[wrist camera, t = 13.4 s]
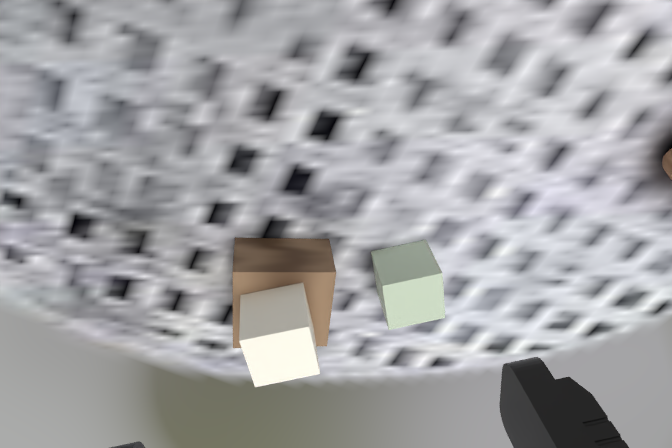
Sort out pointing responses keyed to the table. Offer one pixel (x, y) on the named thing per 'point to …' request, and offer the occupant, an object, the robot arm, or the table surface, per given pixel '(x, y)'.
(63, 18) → the table surface
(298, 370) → the cream cube
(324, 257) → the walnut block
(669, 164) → the cupcake
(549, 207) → the table surface
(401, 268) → the sage green cube
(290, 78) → the table surface
